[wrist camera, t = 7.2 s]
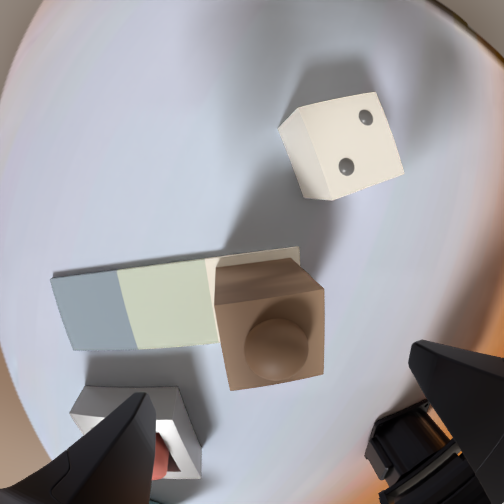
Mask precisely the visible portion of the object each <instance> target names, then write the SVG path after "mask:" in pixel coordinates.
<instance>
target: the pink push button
mask: <svg viewBox="0 0 504 504" xmlns="http://www.w3.org/2000/svg"><path fill="white" fill-rule="evenodd" d="M168 458H169V450H168V448H167V446H166V444H165V443H164V441H163V439H162V437H161V435H160V433H159V432H156V445H155V460H154V467H153V475H152V480H158V479H161V478H163V477H164V476H165V475H166V473H167V466H168Z"/></svg>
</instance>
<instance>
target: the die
mask: <svg viewBox="0 0 504 504" xmlns="http://www.w3.org/2000/svg"><path fill="white" fill-rule="evenodd" d="M278 131H279V133H280V136H281V138H282V141H283V143H284V146H285V149H286V151H287V154H288V156H289V159H290V162H291V164H292V167H293V170H294V172H295V175H296V178H297V180H298V183H299V186H300V189H301V192H302V194H303V197H304V198H309V199H321V200H332V201H333V200H335V199H338V198H341V197H343V196H346V195H349V194H351V193H354V192H357V191H359V190H362V189H365V188H368V187H370V186H373V185H376V184H378V183H381V182H384V181H387V180H389V179H392V178H395V177H398V176H400V175H403V174H405V173H404V170H403V166H402V163H401V160H400V156H399V153H398V150H397V147H396V144H395V141H394V138H393V135H392V132H391V130H390V127H389V124H388V121H387V119H386V116H385V114H384V111H383V109H382V106H381V104H380V101H379V99H378V96H377V94H376V92H370V93H364V94H358V95H352V96H347V97H342V98H337V99H332V100H327V101H323V102H318V103H314V104H310V105H306V106H302V107H298V108H297V109H296V110H295V111H294V112H293V113H292V114H291V115H290V116H289V117H288V118H287V119H286V120H285V121H284V122H283V123H282V125H281V126H280V127H279V128H278Z"/></svg>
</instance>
